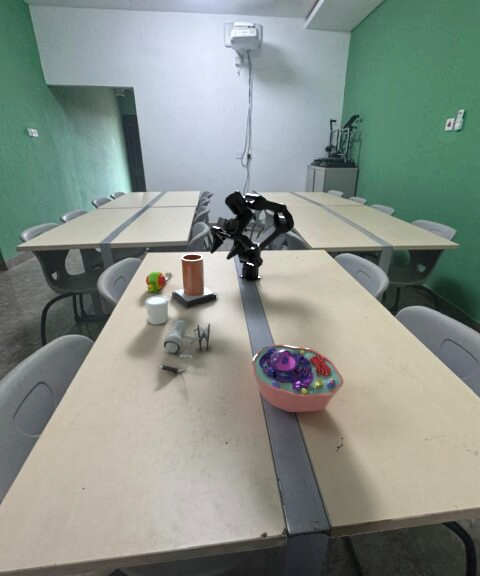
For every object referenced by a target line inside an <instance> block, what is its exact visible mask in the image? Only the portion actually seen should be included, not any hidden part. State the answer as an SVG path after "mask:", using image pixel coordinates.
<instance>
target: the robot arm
mask: <svg viewBox="0 0 480 576" xmlns="http://www.w3.org/2000/svg"><path fill="white" fill-rule="evenodd" d="M224 204H225V205H226V207H227V208H228V209H229V211H230V212H231V213H232V214H233V215H234V216H235V217H234V218H233V217H230V218H229V219H228V218H225V217H222V216H219V217H218V220H217V222H216V226H212V227H211V228H210V230H209V232H210V235H211V236H212V243H211V247H210V250H209V253H210V254H211V255H213V254H214V253H216V251H217V250H218V249H219V248H220V247H221V246H222V245H223V244H224V243H225V241H226V239H227V240H230V241H232V242H233V245H232V247H231V249H230V250H229V251H228V253H227V255H226V260H227V261H229V260H231V259H233V258H234V257H236V256H237V258H238V261H239V263H240V264H242V268H241V275H240V276H239V277H240V278H242V279H244V280H245V281H248V282H252V281H256V280H259V279H261V278H262V277H261V276H260V275H259V269H260V267H261V266H263V263H264V259H263V258H262V252H263V250H264V249H266V248H267V247H269V245H270V244H271V243H272V242H274V241H275V240H276V238H278V237H279V236H281V235H283V234H287V233H289V232H291V231H292V230H293V228H294V227H295V221H294V218H293V215H292V213H291V212H290V211H289V209H288V207H287V205H286V204H285V203H280V202H275V201H271V200H267V199H266V197H264V196H262V195H260V194H253V193H246V194H245V196H243V195H242V192H241V190H240V191H239V190H234V192H232V193H230V194H229V195H227V196H226V197H225V199H224ZM265 210H266V211H271V212H273V216H272V220H273V221H272V226H271V227H270V228H269V229H268V230H266V231H265V232H264V233H263V234H262V235H260V236H259V237H258V238H257V239H256V240H254V241H252V240H251V238H250V237H249V236H248V235H247V234H244V233H247V232H248V229H247V227H248V226H249V224H250V223H251V221H257V216H256V215H257V214H256V212H253V211H258V212H259V211H265ZM279 214H281V215H279Z"/></svg>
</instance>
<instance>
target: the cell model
mask: <svg viewBox="0 0 480 576" xmlns="http://www.w3.org/2000/svg"><path fill="white" fill-rule="evenodd" d="M251 367H252V376H253V377H254V380H256V384H257V387H258V390H259V393H260V394H261V396H263V398H264V399H265V400H266V401H267V403H269V404H270V405H271V406H273V407H275V408H278V409H280V410H283V411H285V412H289V413H306V412H307V413H308V412H317V411H322V410H324V409H326V407H327V406H328V405H329V403H330V402H331V400H332V399H333V398H334V397H335V396H336V395H337V393H338V392H339V391H340V390H341V388H342V387H343V385H344V379H343V376H342V374H341V373H340V372H339V369H338V368H337V367H336V366H335V364H334V362H333V361H332V360H331V359H329V358H328V357H327V356H325V355H323V354H322V353H320V352H319V351H317V350H315V349H313V348H310V347H303V346H302V347H300V346H292V345H287V344H273V345H268V346H264V347H262V348H260V349H259V350H258V351H257V352H256V353H255V355H254V356H253V357H252V359H251Z"/></svg>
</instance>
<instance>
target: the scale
mask: <svg viewBox="0 0 480 576" xmlns="http://www.w3.org/2000/svg"><path fill="white" fill-rule="evenodd" d="M171 297H172V298H173V299H174V300H176V301H177V302H178V303H180V304H181V305H182V306H184V307H185V308H186V309H189V308H193V307H196V306H199V305H202V304H205V303H209V302H212V301H215V300H217V293H215V292H214V291H212V290H210V289H209V288H208V287H206V286H204V292H203V293H202V294H200V295H196V296H190V295H186V294H185V293H184V290H183V288H180V289H175V290H174V291H171Z"/></svg>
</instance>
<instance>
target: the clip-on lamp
mask: <svg viewBox="0 0 480 576" xmlns="http://www.w3.org/2000/svg"><path fill="white" fill-rule="evenodd" d="M196 326H197V327H196V328H195V329H193V330H192V332H193V333H194V335H188V334H186V332H187V329H188V324H187V323H186V321H184V320H177V321H175V322H174V324H173V326H172V328H171V330H170V333H169V334H168V335H167V336H166V337H165V338H164V339H163V344H162V345H163V348H164V349H165V350H166V351H167V352H168V353H173V354H174V353H176V354H177V353H178V352H180V351H181V350H182V349H183V346H184V339H185V340H192V341H190V342H188V347H187V349H186V350H185V351H184V352H181V354H179V358H186V357H187V358H189V357H190V360H189V362H188V364H187V365H186V366H184V368H182V369H178V367H173V366H169V365H166V364H162V365H159V366H158V368H159V369H161V370H162V371H165V372H169V373H174V374H177V373H180V372H183V371H185V370H187V368H189V366H190V365H191V363H192V361H193V355H191V354H186V353H187V352H188V351H189V350H190V348H191V347H190V346H191V345H192V344H194V343H195V341H198V345H199V352H202V341H203V340H205V342H206V351H209V342H210V335H211V334H210V333H211V324H210V323H208V326H207V327H206V328H204V329H203V328H202V327H201V326H200V324H197V325H196ZM196 332H197V333H196Z"/></svg>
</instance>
